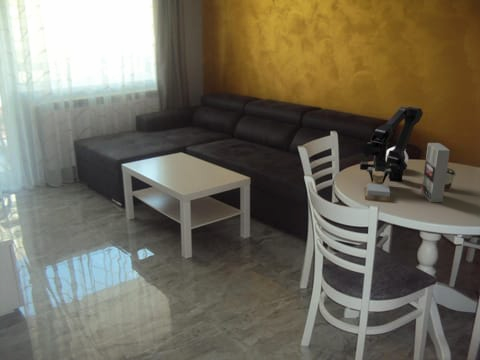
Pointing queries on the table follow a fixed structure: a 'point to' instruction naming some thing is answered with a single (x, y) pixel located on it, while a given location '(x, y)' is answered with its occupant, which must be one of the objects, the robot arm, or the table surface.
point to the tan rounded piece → (377, 179)
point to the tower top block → (378, 190)
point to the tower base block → (376, 197)
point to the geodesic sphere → (404, 152)
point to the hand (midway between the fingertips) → (377, 182)
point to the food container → (449, 178)
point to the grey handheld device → (435, 172)
